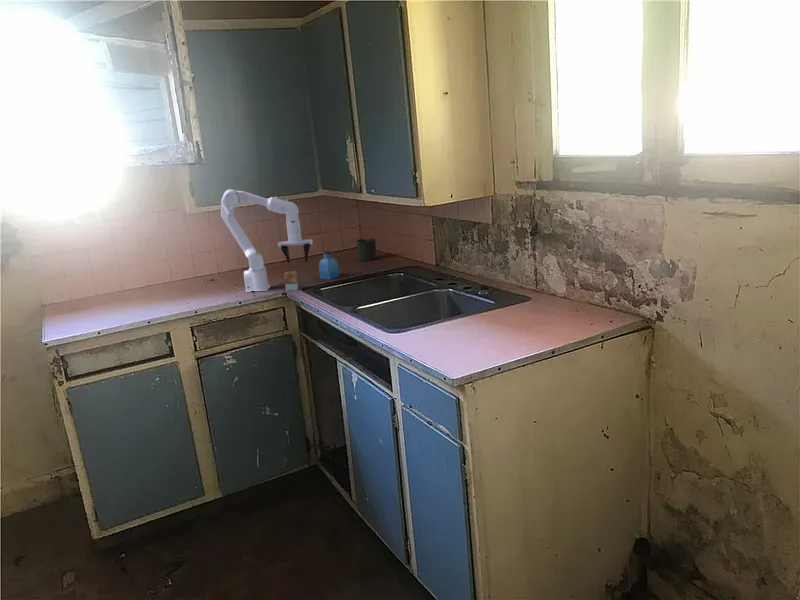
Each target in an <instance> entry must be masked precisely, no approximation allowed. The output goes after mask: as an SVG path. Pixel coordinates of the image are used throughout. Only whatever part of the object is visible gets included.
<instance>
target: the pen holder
mask: <svg viewBox="0 0 800 600" xmlns="http://www.w3.org/2000/svg"><path fill="white" fill-rule="evenodd" d="M376 243H377V242H376V238H373V237H372V238H369V239H364V238H360V239H356V247H357V255H358V260H359V261H360V262H369V261H368V260H372V261H374V260H373V259H375V260H376V259H377V247H376V246H377V244H376Z"/></svg>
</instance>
